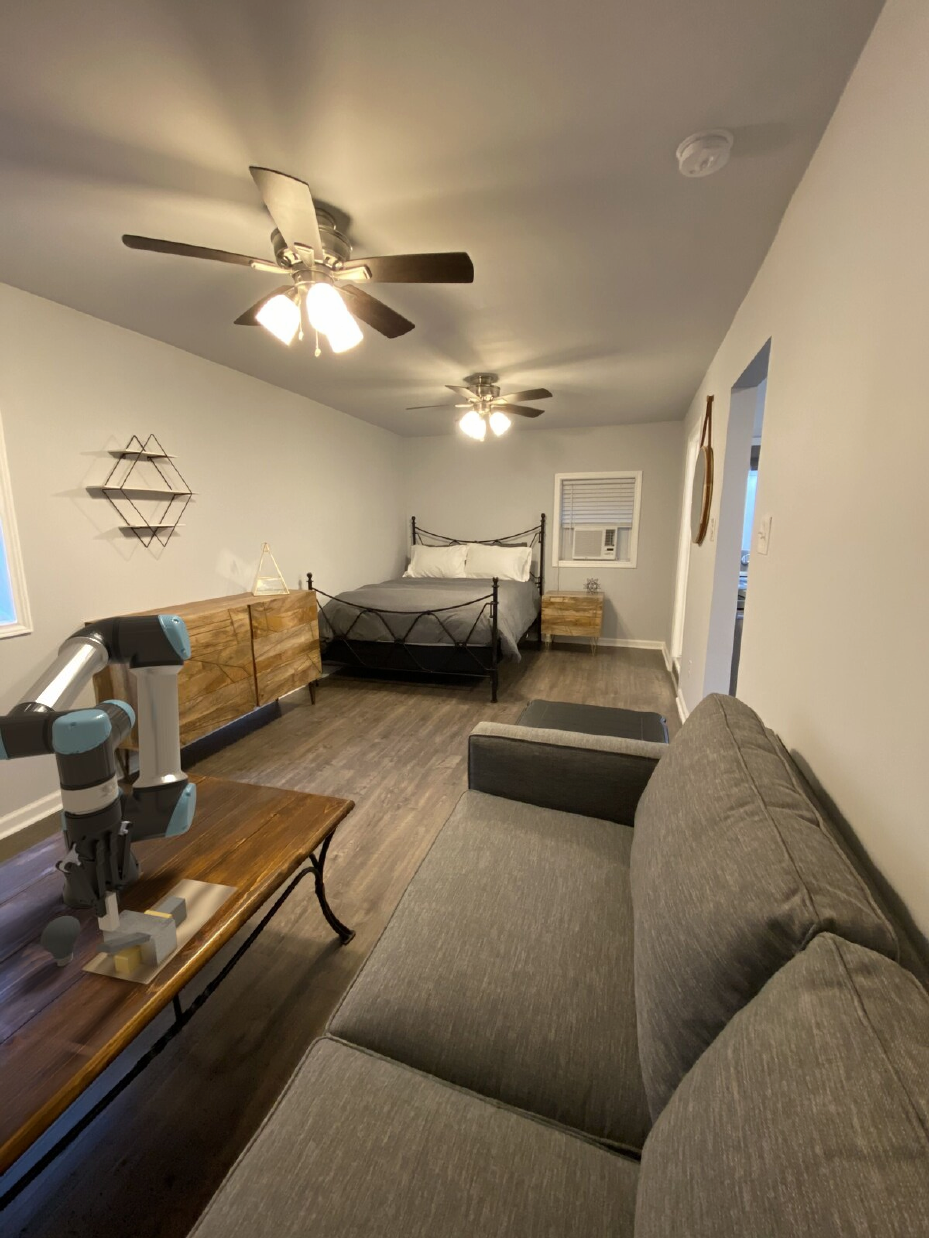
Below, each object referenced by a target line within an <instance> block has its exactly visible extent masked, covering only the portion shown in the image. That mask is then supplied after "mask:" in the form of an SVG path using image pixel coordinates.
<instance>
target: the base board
mask: <svg viewBox="0 0 929 1238" xmlns="http://www.w3.org/2000/svg"><path fill="white" fill-rule="evenodd" d="M238 889H239V887H237V886H236V887H235V886H229V885H223V884H218V883H212V882H205V881H201V880H194V879H189V878H182V879H181V880H180V881H179V882H178V883H177V884H176V885H175V886H173V887H172V888H171V889H170V890H169V891H168V892H167V893H165V894H164V895H163V896H162V897H161V898H160V899H159V900H158V901H157V902H155V903H154V904H153V905H152V906H151V907H150V908H148V910H150V911H155V910H157V909H158V908H159V907H160V906H161V905H162V904H163V903H164V902H165V901H166V900H168V899H169V898H170V897H171V896H173V897H179V898H185V902H186V911H187V918H186V919H185V920H184V921H183V922H182V923H181V924H180V925H179V926H178V927H177V928H176V935H177V943H178V947H177V948H176V949H175V950H174V951H173V952H172V953H171V954H170V955H169V957H168V958H167V959H166V960H165V961H164V962H163V963H162V964H161V965H160V966H159V967H154V966H149V965H144V964H143V963H142V961H141V962H140V963H139V964H138V965H137V966H136V967H135V968H134V969H133V970H132V971H131V972H130V973H124V972H120V971H116V967H115V960H114V958H111V957H107V956H106V953H104V952H99V953H98V954H97V955H96V956H94V958H93V959H91V960H90V961H89V962H88V963H87V964H86V965H84V967H82V968H81V970H82V971H85V972H90V973H93V974H99V975H103V976H108V977H112V978H117V979H121V980H125V981H128V982H129V981H130V982H135V983H140V984H142V985H147V986H148V984H150V983H151V981H153V979H154V978H155V977H156V976H157V975H158V974H159V973H160V972H161V971H162V970H163V969H164V968H165V967H166V965H168V963H170V962H171V960H173V958H174V957H175V956H177V954H178V953H179V952H180V951H181V950H182V948H184V947H185V945H186V944H187V943H188V942H189V941H190V940H191V939H192V938H193V937H194V936H195V935H196V934H197V933H198V932H199V931H200V930H201V929H202V928H203V926H204V925H205V924H206V923H207V922H208V921H209V920H210V919H211V918H212V917H213V916H214V915H215V913H216V912H217V911H218V910H219V909H220V908H221V907H223V905H224V904H225V903H226V902H227V901H228V900H229V899H230V898H231V897H232V895H233V894H234V893H235V892H236V891H237V890H238Z"/></svg>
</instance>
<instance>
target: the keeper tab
mask: <svg viewBox="0 0 929 1238" xmlns="http://www.w3.org/2000/svg"><path fill="white" fill-rule="evenodd" d="M150 937H151V935H150V934H145V933H140V932H136V933H133V934H130V935H126V936H123V937H119V938H116V939H113V940H109V941H106V942H104V941H103V942H99V943H97V944H96V947H95V950H94V951H95V952H99V953H101V952H104V953H109V954H110V953H113V952H116V951H119V950H122V949H126V948H129V947H132V946H135V945H138V944H141V943H144V942H147V941H149V940H150Z"/></svg>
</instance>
